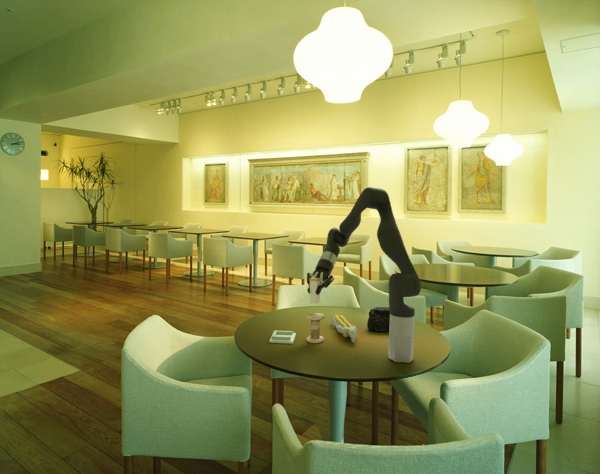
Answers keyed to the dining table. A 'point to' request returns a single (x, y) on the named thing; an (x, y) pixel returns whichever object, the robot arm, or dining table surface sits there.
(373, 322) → the rock
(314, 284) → the block
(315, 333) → the bobbin
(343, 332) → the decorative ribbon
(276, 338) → the ridged board
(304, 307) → the dining table surface
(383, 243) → the robot arm
